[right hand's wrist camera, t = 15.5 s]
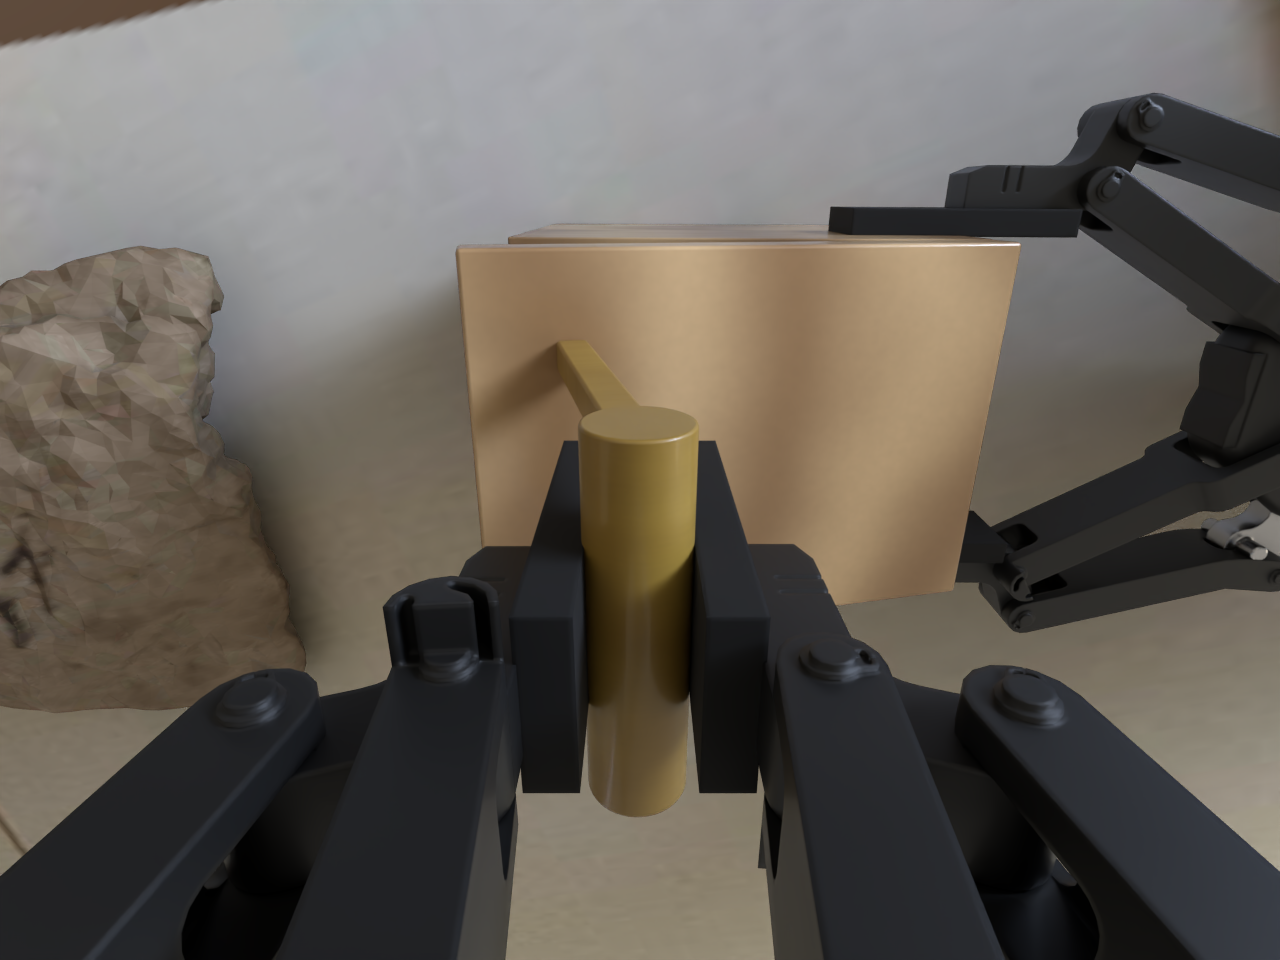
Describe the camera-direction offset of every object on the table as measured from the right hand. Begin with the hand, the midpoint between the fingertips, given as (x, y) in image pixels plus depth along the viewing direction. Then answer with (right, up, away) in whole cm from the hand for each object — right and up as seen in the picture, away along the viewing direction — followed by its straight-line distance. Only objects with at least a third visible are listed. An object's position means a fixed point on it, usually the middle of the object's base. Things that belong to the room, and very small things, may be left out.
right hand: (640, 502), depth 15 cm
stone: (-23, 0, +18) cm, 29 cm away
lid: (+3, +2, +4) cm, 5 cm away
